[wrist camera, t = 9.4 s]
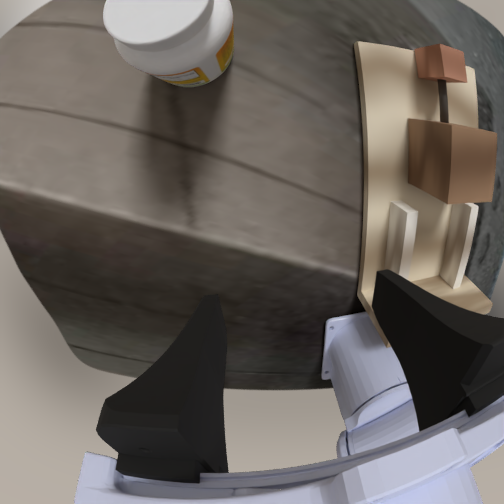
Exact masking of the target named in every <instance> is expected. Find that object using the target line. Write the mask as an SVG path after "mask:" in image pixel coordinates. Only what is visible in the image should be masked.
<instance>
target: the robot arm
mask: <svg viewBox="0 0 504 504" xmlns="http://www.w3.org/2000/svg"><path fill="white" fill-rule="evenodd" d="M372 309H373V311H374V314H375V317H376V319H377V321H378V324H379V326H380V327H381V329H382V331H383V333H384V335H385V336H386V338H387V340H388V342H389V343H390V345H391V347H389V348H386V346H385V344H384V343H383V341H382V339H381V337H380V335H379V333H378V331H377V330H376V328H375V326H374V324H373V322H372V321H371V319H370V317H369V315H368V313H367V312H361V313H356V314H351V315H346V316H341V317H336V318H331V319H328V320H327V321H326V326H325V340H324V353H323V364H322V374H321V377H322V379H323V380H326V379H331V381H332V384H333V388H334V391H335V394H336V398H337V401H338V404H339V407H340V411H341V414H342V417H343V419H344V422H345V425H346V429H347V430H345V431H343V432H341V434H340V436H339V439H338V442H337V457H338V458H337V459H333V460H329V461H324V462H319V463H314V464H309V465H303V466H297V467H291V468H283V469H275V470H266V471H256V472H239V473H229V472H228V463H227V454H226V443H225V428H224V407H223V389H224V377H225V365H226V353H227V337H226V326H225V322H224V318H223V314H222V310H221V305H220V301H219V297H218V294H215V295H206V296H204V297H203V298H202V299H201V301H200V303H199V305H198V306H197V308H196V310H195V311H194V313H193V315H192V316H191V318H190V319H189V321H188V323H187V324H186V326H185V327H184V329H183V330H182V331H181V333H180V334H179V335H178V337H177V338H176V340H175V341H174V342H173V343H172V345H171V346H170V347H169V348H168V349H167V351H166V352H165V353H164V354H163V355H162V356H161V357H160V358H159V359H158V360H157V361H156V362H155V363H154V364H153V365H152V366H151V367H150V368H149V369H148V370H147V371H145V372H144V373H143V374H142V375H141V376H139V377H138V378H137V379H135V380H134V381H133V382H131V383H130V384H129V385H127V386H126V387H124V388H123V389H121V390H120V391H118V392H117V393H115V394H113V395H112V396H110V397H108V398H107V399H105V402H104V404H103V407H102V410H101V413H100V417H99V421H98V424H97V428H96V431H97V433H98V435H99V436H100V437H101V438H102V439H103V440H104V441H105V442H106V443H107V444H108V445H110V446H111V447H112V448H113V449H115V450H116V451H117V452H118V453H119V454H118V459H115V458H112V457H108V456H105V455H100V454H95V453H91V452H85V455H84V459H83V463H82V467H81V472H80V476H79V480H78V485H77V489H76V495H75V500H74V503H75V504H483V502H482V499H481V496H480V493H479V490H478V488H477V485H476V482H475V479H474V477H473V474H472V472H471V469H470V467H472V466H473V465H475V464H476V463H478V462H479V461H481V460H482V459H484V458H485V457H486V456H488V455H489V454H491V453H492V452H493V451H495V450H496V449H497V448H499V447H500V446H501V445H502V444H503V443H504V318H497V317H492V316H488V315H483V314H480V313H476V312H473V311H470V310H467V309H464V308H462V307H459V306H457V305H454V304H452V303H450V302H447V301H445V300H443V299H441V298H439V297H437V296H435V295H433V294H431V293H429V292H428V291H426V290H424V289H422V288H421V287H419V286H417V285H415V284H414V283H412V282H410V281H409V280H407V279H405V278H404V277H402V276H400V275H398V274H397V273H395V272H393V271H391V270H389V269H386V270H380V271H377V272H376V280H375V287H374V293H373V300H372ZM331 326H332V327H331ZM330 327H331V328H330ZM278 489H281V490H278Z"/></svg>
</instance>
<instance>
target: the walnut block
mask: <svg viewBox="0 0 504 504" xmlns="http://www.w3.org/2000/svg"><path fill="white" fill-rule="evenodd" d="M414 50H415V57H416V64H417V71H418V78H421V79H426V80H431V81H435V82H438V91H439V106H440V122H439V121H431V120H422V119H411V118H408V132H409V165H408V183H409V184H411V185H413V186H415V187H417V188H419V189H421V190H423V191H424V192H426V193H428V194H430V195H432V196H434V197H435V198H437V199H439V200H441V201H442V202H444V203H446V204H461V203H476V202H492V195H493V188H494V179H495V168H496V152H497V133H494V132H490V131H486V130H482V129H477V128H473V127H468V126H463V125H458V124H453V123H449V113H448V96H447V84H446V83H467V74H466V67H465V60H464V53H463V52H462V51H459V50H456V49H454V48H451V47H448V46H445V45H442V44H436V45H431V46H426V47H422V48H417V49H414Z"/></svg>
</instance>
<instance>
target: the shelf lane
mask: <svg viewBox="0 0 504 504" xmlns="http://www.w3.org/2000/svg"><path fill="white" fill-rule="evenodd" d="M354 50H355V57H356V64H357V72H358V80H359V89H360V100H361V112H362V128H363V151H364V208H363V232H362V248H361V261H360V273H359V283H358V292H357V296H358V298H359V300H360V301H361V303H362V305H363V306H364V308H365V310H366V312H367V313H368V315H369V317H370V319H371V321H372V322H373V324H374V326H375V328H376V330H377V331H378V333H379V335H380V337H381V339H382V341H383V343H384V344H385V346H386V348H389V347H391V345H390V343H389V342H388V340H387V338H386V336H385V335H384V333H383V331H382V329H381V327H380V326H379V324H378V321H377V319H376V317H375V314H374V311H373V309H372V300H373V293H374V287H375V280H376V272H377V271H380V270H386V269H389V270H391V271H393V272H395V273H397V274H398V275H400V276H402V277H404V278H405V279H407V280H409V281H410V282H412V283H414V284H415V285H417V286H419V287H421V288H422V289H424V290H426V291H428V292H429V293H431V294H433V295H435V296H437V297H439V298H441V299H443V300H445V301H447V302H450V303H452V304H454V305H457V306H459V307H462V308H464V309H467V310H470V311H473V312H476V313H480V314H483V315H484V314H486V313H489V312H490V309H491V307H492V305H493V303H492V302H491V301H490V300H489V299H488V298H487V297H486V296H485V295H484V294H483V293H482V292H481V291H480V290H479V289H478V288H477V287H476V286H475V285H474V284H473V283H472V282H471V281H470V280H469V279H468V278H467V277H466V276H465V275H464V272H465V268H466V264H467V261H468V257H469V253H470V248H471V244H472V239H473V235H474V230H475V224H476V219H477V213H478V206H477V205H475V204H473V203H461V204H446V203H444V202H442V201H441V200H439V199H437V198H435V197H434V196H432V195H430V194H428V193H426V192H424V191H423V190H421V189H419V188H417V187H415V186H413V185H411V184H409V183H408V165H409V132H408V118H411V119H422V120H431V121H439V122H440V106H439V91H438V82H435V81H431V80H426V79H421V78H418V71H417V64H416V57H415V51H412V50H407V49H403V48H398V47H392V46H387V45H380V44H374V43H366V42H356V43H354ZM465 67H466V74H467V83H446V84H447V96H448V113H449V123H453V124H458V125H463V126H468V127H473V128H477V129H478V106H477V91H476V81H475V72H474V69H473V68H470V67H468V66H465Z"/></svg>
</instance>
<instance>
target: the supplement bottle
mask: <svg viewBox="0 0 504 504" xmlns="http://www.w3.org/2000/svg"><path fill="white" fill-rule="evenodd" d="M103 20H104V24H105V27H106V29H107V31H108V32H109V34H110V35H111V36H112V37H113V38H114V42H115V45H116V48H117V50H118V52H119V54H120V55H121V56H122V58H123V59H124V60H125V61H126V62H127V63H129V64H130V65H131V66H133V67H135V68H136V69H138V70H140V71H143V72H145V73H148V74H150V75H152V76H155V77H157V78H159V79H161V80H163V81H166V82H168V83H170V84H173V85H177V86H181V87H196V86H200V85H204V84H207V83H209V82H211V81H213V80H214V79H216V78H217V77H219V76H220V75H221V74H222V73H223V72H224V71H225V70H226V68H227V67H228V65H229V64H230V62H231V59H232V56H233V52H234V35H233V13H232V7H231V4H230V1H229V0H106V3H105V6H104V11H103Z"/></svg>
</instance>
